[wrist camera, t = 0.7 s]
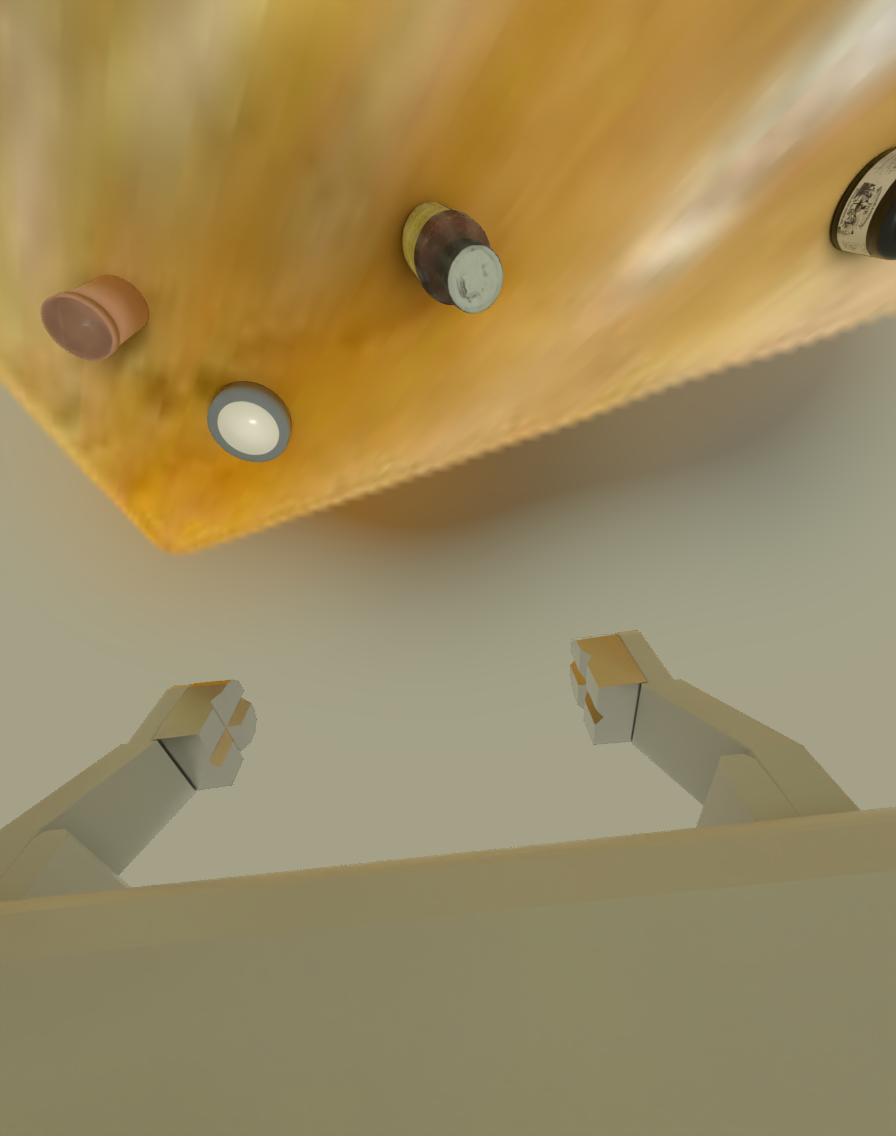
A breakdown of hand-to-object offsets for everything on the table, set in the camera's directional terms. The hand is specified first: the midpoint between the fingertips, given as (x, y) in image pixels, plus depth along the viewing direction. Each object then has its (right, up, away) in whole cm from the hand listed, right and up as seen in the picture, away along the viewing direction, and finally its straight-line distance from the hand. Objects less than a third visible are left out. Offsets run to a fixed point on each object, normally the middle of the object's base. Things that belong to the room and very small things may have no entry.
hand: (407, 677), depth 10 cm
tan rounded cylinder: (-32, +30, +32) cm, 54 cm away
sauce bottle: (-1, +36, +32) cm, 49 cm away
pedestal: (-24, +22, +42) cm, 53 cm away
